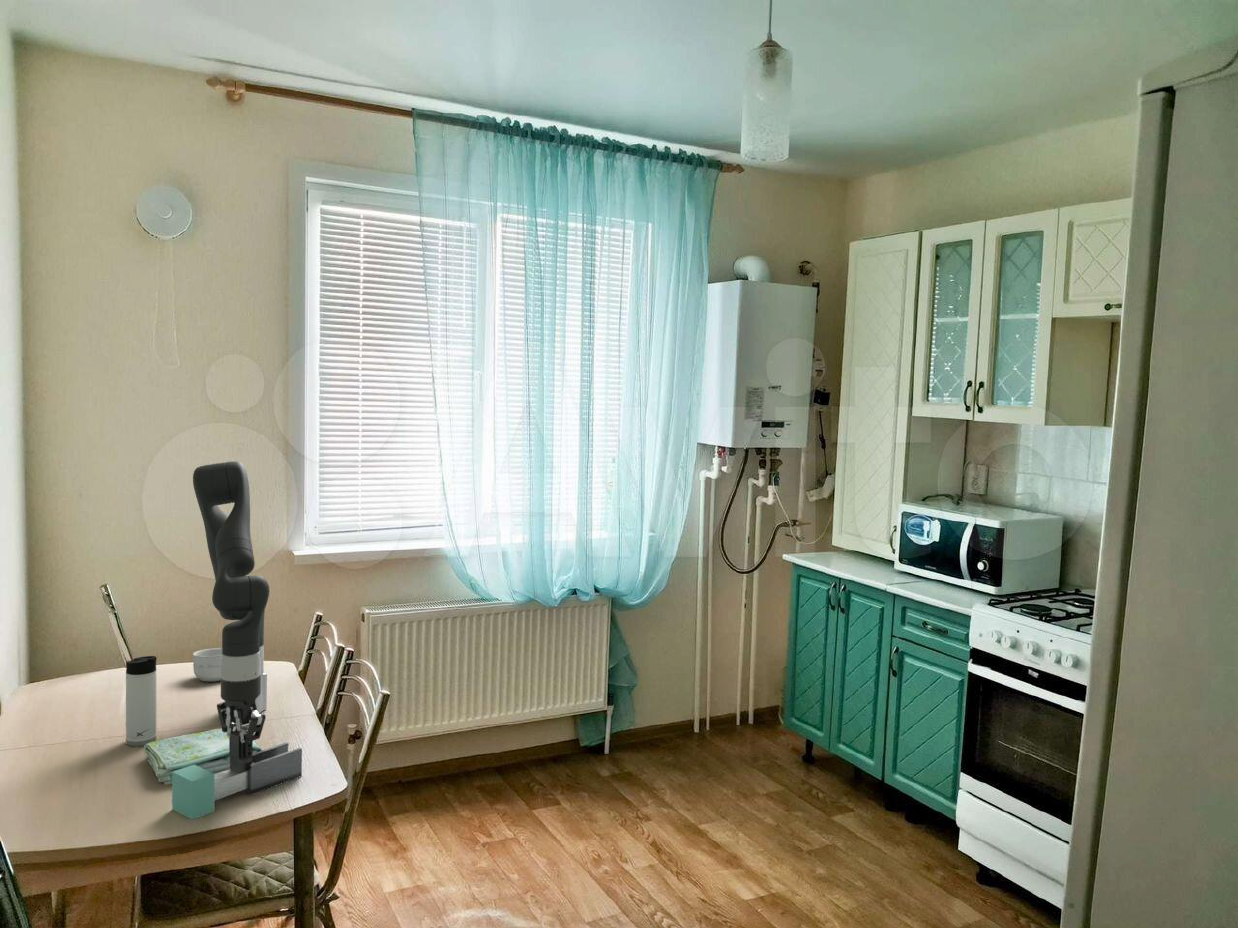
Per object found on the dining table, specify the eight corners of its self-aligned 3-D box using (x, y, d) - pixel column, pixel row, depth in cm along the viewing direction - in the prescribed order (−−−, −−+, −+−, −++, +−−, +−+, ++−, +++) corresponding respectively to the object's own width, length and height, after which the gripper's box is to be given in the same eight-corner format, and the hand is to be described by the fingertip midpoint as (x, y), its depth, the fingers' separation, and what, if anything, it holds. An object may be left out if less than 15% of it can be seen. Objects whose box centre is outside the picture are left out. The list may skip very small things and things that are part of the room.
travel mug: (144, 747, 204) (144, 661, 203) (119, 744, 205) (119, 659, 204) (163, 738, 210) (163, 654, 209) (139, 735, 211) (139, 652, 210)
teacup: (184, 682, 250) (184, 654, 250) (208, 671, 261) (208, 644, 260) (230, 687, 248) (230, 658, 248) (252, 675, 259) (252, 648, 258)
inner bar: (251, 778, 187) (251, 725, 186) (261, 782, 185) (261, 729, 184) (186, 801, 175) (186, 745, 175) (196, 806, 173) (197, 750, 173)
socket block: (194, 801, 179) (194, 764, 178) (214, 811, 175) (214, 773, 174) (172, 809, 175) (172, 771, 174) (192, 819, 171) (192, 781, 170)
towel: (141, 759, 198) (141, 737, 198) (241, 740, 211) (241, 719, 211) (157, 789, 184) (157, 765, 184) (264, 766, 197) (264, 744, 197)
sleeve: (286, 769, 195) (286, 742, 195) (301, 776, 192) (301, 748, 192) (235, 787, 185) (235, 759, 185) (251, 795, 182) (251, 765, 182)
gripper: (278, 676, 180) (277, 759, 182) (237, 662, 188) (237, 742, 190) (244, 685, 174) (244, 771, 176) (203, 671, 182) (203, 753, 183)
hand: (240, 756), depth 183 cm, fingers open, 3 cm apart
